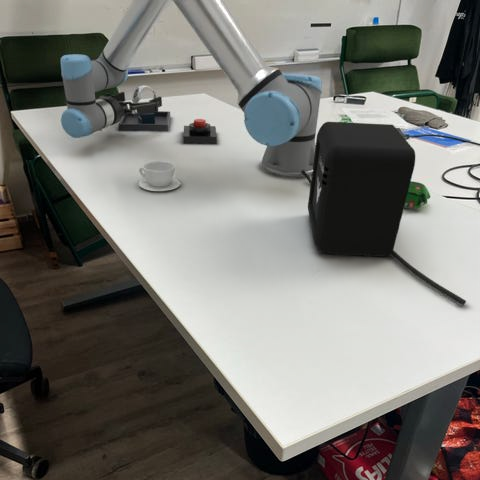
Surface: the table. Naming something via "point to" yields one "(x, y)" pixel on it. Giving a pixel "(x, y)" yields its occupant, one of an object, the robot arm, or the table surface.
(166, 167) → the teacup
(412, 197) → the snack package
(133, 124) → the tray
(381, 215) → the air purifier
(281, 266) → the table surface
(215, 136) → the control block
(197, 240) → the table surface
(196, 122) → the button
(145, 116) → the watch
